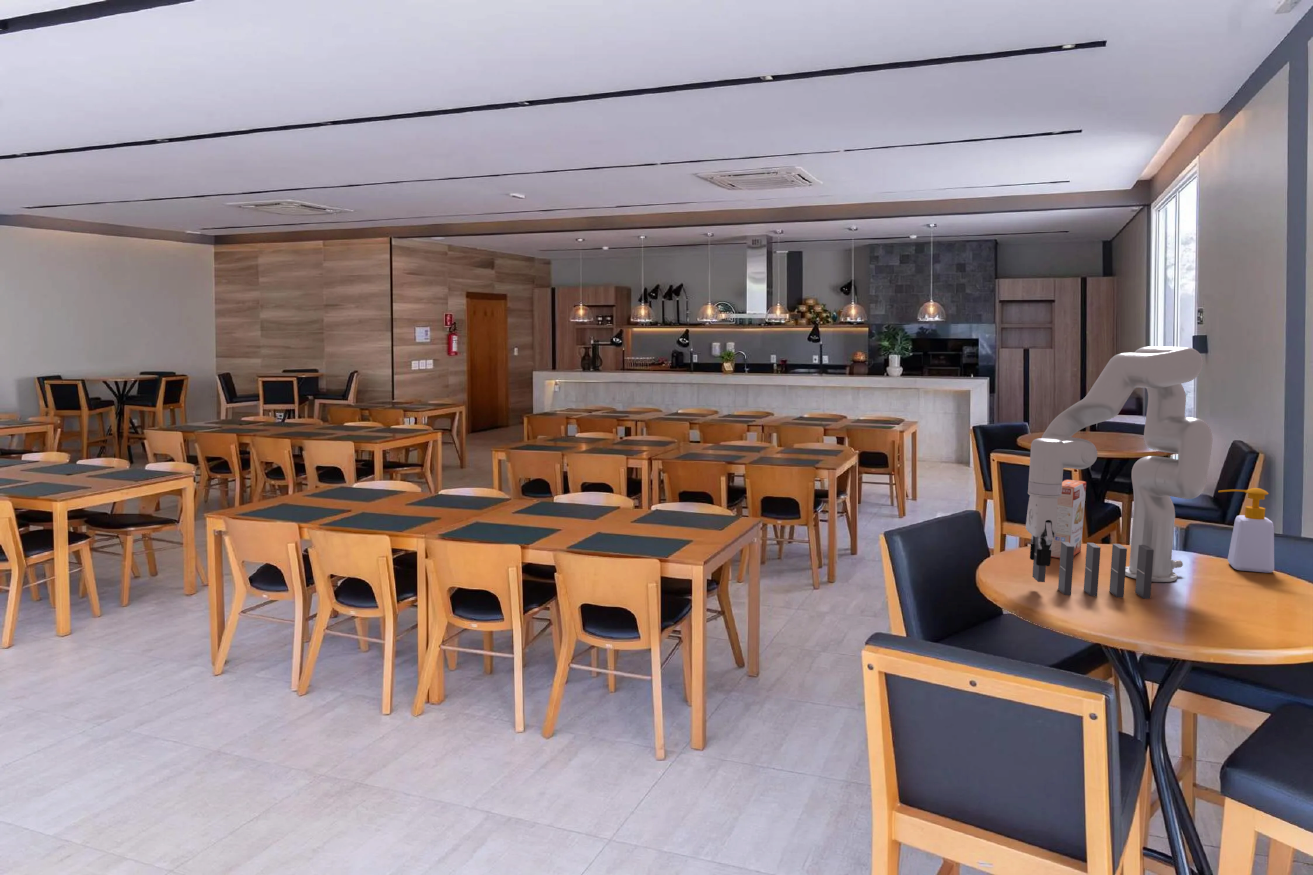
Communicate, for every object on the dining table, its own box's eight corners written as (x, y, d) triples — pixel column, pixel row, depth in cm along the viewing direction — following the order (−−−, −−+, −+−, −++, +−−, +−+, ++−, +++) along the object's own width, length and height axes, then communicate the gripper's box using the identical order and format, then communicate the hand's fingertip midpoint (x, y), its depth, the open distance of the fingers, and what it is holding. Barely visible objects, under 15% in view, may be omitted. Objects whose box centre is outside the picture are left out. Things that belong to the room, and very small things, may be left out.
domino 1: (1037, 581, 223) (1041, 533, 221) (1032, 576, 227) (1035, 529, 226) (1044, 582, 222) (1048, 533, 221) (1039, 576, 227) (1042, 529, 226)
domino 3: (1090, 595, 221) (1093, 547, 220) (1083, 590, 226) (1086, 542, 225) (1097, 596, 221) (1100, 547, 220) (1090, 590, 226) (1093, 542, 225)
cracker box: (1070, 560, 256) (1075, 486, 253) (1047, 557, 259) (1052, 484, 257) (1082, 551, 267) (1087, 480, 264) (1060, 548, 270) (1065, 478, 268)
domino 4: (1116, 597, 220) (1119, 548, 219) (1109, 591, 225) (1112, 543, 224) (1123, 597, 220) (1127, 548, 219) (1116, 591, 225) (1119, 543, 224)
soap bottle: (1208, 561, 257) (1214, 483, 254) (1266, 566, 252) (1273, 486, 249) (1215, 569, 248) (1221, 488, 245) (1275, 574, 243) (1282, 492, 240)
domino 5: (1142, 598, 220) (1146, 549, 218) (1135, 592, 225) (1138, 544, 223) (1150, 598, 219) (1153, 549, 218) (1142, 592, 224) (1145, 544, 223)
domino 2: (1064, 594, 222) (1067, 546, 221) (1058, 588, 227) (1061, 541, 226) (1071, 594, 222) (1074, 546, 221) (1065, 589, 227) (1068, 541, 225)
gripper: (1019, 483, 231) (1015, 553, 233) (1038, 494, 215) (1032, 570, 217) (1051, 484, 230) (1046, 555, 232) (1071, 496, 214) (1066, 572, 216)
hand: (1039, 561), depth 224 cm, fingers closed on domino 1, 4 cm apart
